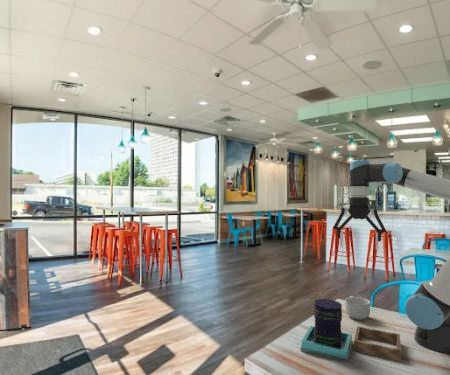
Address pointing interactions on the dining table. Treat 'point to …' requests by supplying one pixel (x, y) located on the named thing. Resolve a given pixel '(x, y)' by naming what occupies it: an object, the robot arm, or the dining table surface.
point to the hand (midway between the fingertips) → (358, 247)
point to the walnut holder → (374, 348)
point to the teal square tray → (327, 346)
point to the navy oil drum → (328, 322)
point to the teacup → (357, 307)
